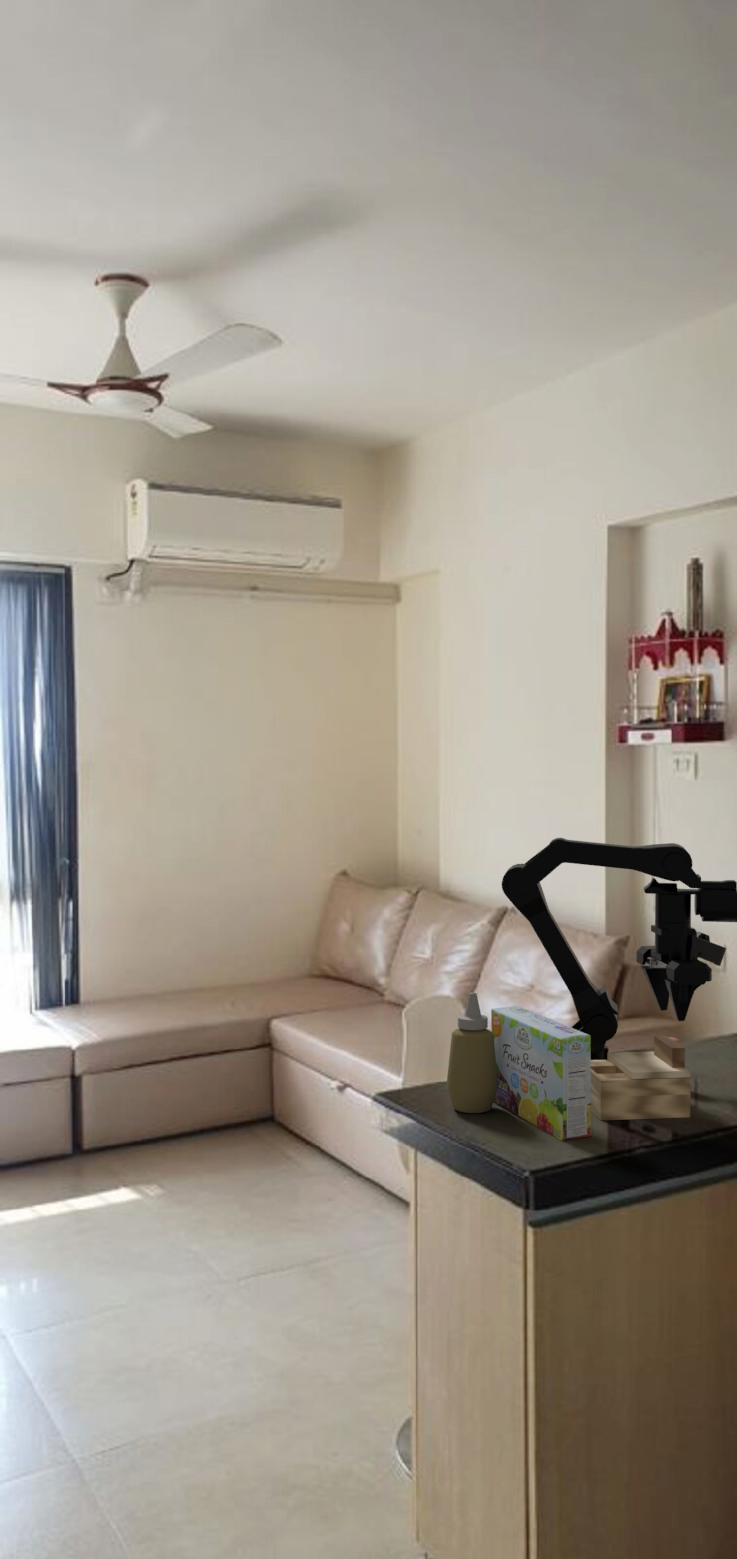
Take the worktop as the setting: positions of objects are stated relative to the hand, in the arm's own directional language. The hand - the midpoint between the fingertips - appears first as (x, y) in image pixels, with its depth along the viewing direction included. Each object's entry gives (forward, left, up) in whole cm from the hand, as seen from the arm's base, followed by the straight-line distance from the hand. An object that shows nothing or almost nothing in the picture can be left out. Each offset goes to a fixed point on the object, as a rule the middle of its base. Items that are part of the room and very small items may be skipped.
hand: (672, 1015), depth 207 cm
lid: (-8, -10, -6) cm, 14 cm away
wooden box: (-10, -10, -12) cm, 19 cm away
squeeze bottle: (-35, -8, -12) cm, 38 cm away
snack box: (-26, -14, -12) cm, 32 cm away
